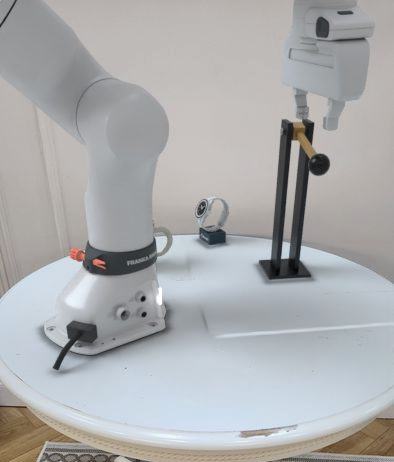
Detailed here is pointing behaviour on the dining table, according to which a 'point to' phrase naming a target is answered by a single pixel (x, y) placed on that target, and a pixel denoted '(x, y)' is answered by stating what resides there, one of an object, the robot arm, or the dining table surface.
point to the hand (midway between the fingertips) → (315, 123)
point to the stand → (292, 265)
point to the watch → (213, 232)
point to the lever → (310, 151)
